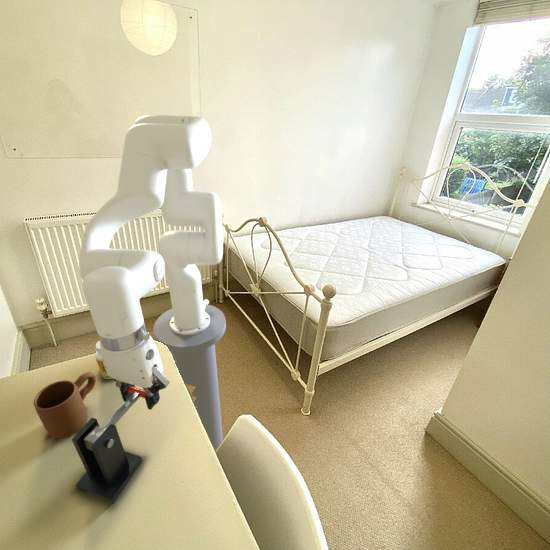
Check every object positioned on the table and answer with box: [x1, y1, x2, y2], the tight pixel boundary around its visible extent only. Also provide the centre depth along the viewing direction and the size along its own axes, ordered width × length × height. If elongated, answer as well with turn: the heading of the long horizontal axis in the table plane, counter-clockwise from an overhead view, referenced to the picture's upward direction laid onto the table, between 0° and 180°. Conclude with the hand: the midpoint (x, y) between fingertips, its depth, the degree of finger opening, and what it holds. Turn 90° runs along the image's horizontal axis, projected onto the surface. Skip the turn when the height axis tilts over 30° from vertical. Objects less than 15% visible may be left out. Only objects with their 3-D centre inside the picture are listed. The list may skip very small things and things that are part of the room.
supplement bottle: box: [94, 340, 113, 380], centre depth 78 cm, size 5×5×10 cm
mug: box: [33, 371, 97, 439], centre depth 67 cm, size 12×8×9 cm, turn 153°
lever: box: [84, 386, 146, 451], centre depth 58 cm, size 13×5×2 cm, turn 163°
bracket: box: [71, 417, 143, 505], centre depth 55 cm, size 8×8×13 cm
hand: (141, 399), depth 64 cm, fingers closed on lever, 5 cm apart
